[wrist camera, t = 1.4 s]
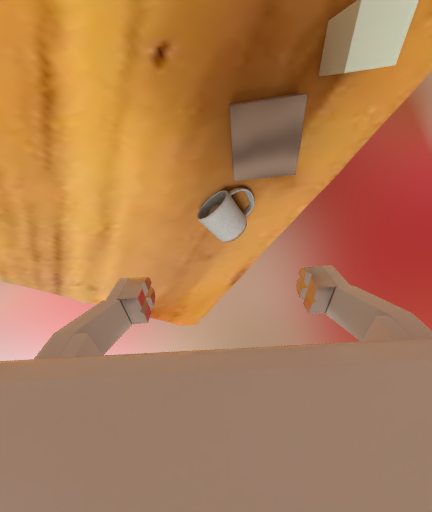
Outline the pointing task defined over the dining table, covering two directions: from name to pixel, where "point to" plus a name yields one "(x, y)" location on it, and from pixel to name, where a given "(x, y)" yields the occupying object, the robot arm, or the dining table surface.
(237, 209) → the ceramic mug
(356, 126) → the dining table surface
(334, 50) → the sage block
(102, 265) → the dining table surface
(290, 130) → the walnut block
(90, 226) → the dining table surface
